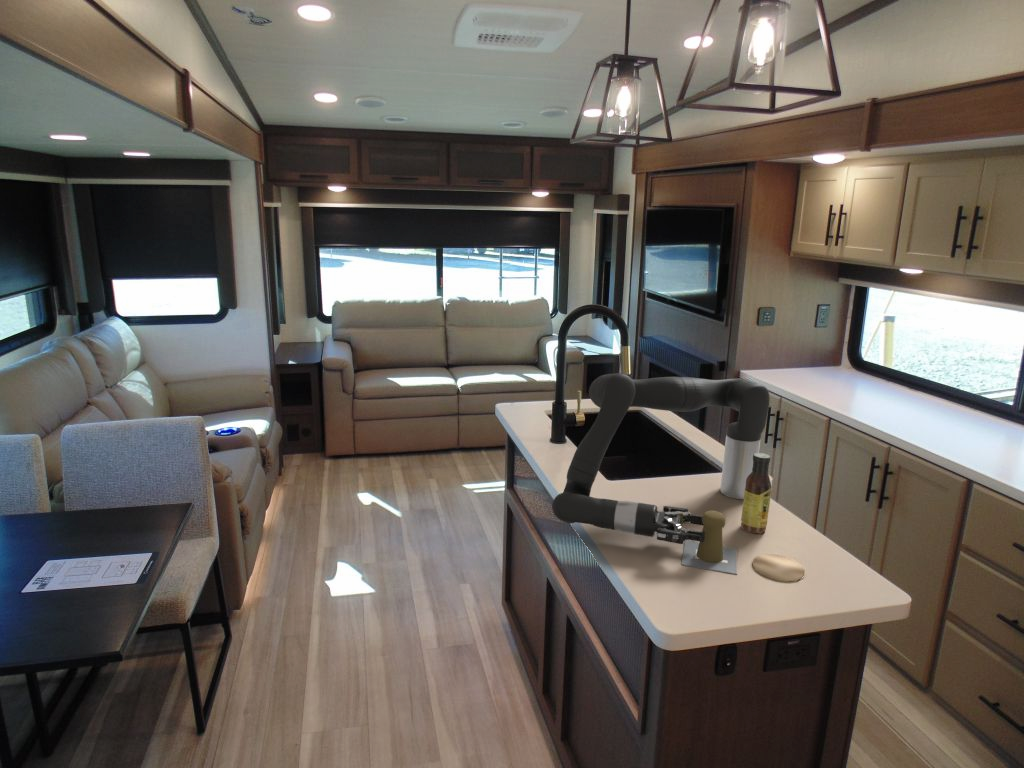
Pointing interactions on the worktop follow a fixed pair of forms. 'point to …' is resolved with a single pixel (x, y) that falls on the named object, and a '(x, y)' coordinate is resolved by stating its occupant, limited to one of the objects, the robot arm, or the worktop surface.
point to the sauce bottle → (757, 496)
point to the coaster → (778, 567)
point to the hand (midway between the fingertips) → (705, 528)
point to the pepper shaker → (712, 537)
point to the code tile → (693, 561)
